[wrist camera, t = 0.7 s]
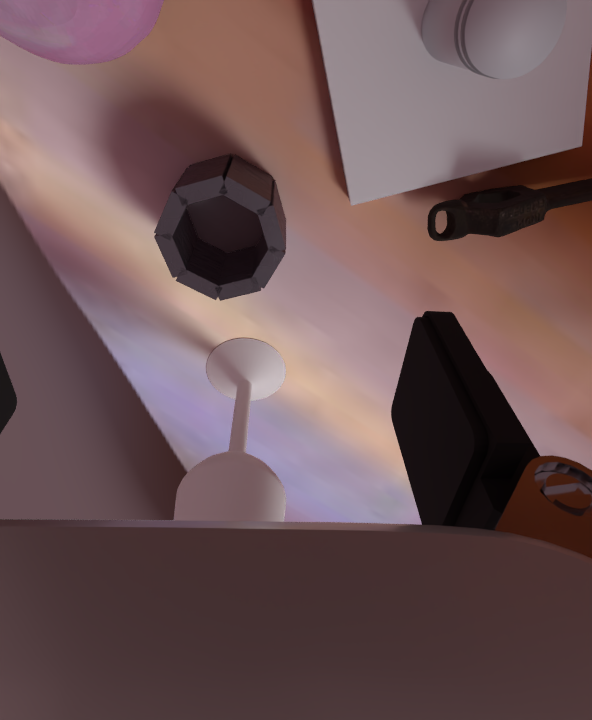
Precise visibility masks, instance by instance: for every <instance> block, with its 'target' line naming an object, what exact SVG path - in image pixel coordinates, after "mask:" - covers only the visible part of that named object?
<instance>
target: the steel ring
mask: <svg viewBox="0 0 592 720" xmlns="http://www.w3.org/2000/svg"><path fill="white" fill-rule="evenodd" d="M272 178H273V177H272V176H270V175H269V174H267V173H265V172H264V171H262V170H260V169H259V168H257V167H255V166H254V165H252V164H250V163H249V162H247V161H245V160H244V159H242V158H240V157H239V156H237V155H234V157H233V159H232V156H231V154H227V155H224V156H220V157H217V158H213V159H210V160H206V161H203V162H199V163H196V164H192V165H190V166H189V168H187V169H186V170H185V172H184V173H183V175H182V176H181V178H180V179H179V181H178V182H177V184H176V186H175V187H174V189H173V190H172V192H171V194H170V197H169V199H168V201H167V203H166V206H165V208H164V210H163V213H162V215H161V217H160V220H159V222H158V224H157V227H156V229H155V231H154V233H156V235H155V236H154V237H155V240H156V242H157V244H158V246H159V248H160V251H161V253H162V255H163V257H164V259H165V262H166V264H167V266H168V268H169V271H170V273H171V275H172V277H177V276H178V277H177V279H176V281H177V282H179V283H182V284H184V285H186V286H188V287H190V288H192V289H194V290H196V291H198V292H200V293H202V294H204V295H206V296H208V297H210V298H213V299H215V300H216V299H217V297H219V299H220V300H224V299H229V298H233V297H237V296H241V295H245V294H250V293H254V292H258V291H261V287H262V288H265V286H266V284H267V283H268V281H269V279H270V278H271V276H272V275H273V273H274V271H275V270H276V268H277V266H278V265H279V263H280V262H281V260H282V258H283V257H284V255H285V250H286V218H285V214H284V211H283V207H282V203H281V200H280V196H279V193H278V189H277V185H276V182H275V180H274V181H272ZM222 195H224V196H226V197H228V198H229V199H231V200H233V201H235V202H237V203H238V204H240V205H242V206H244V207H245V208H247V209H249V210H251V211H253V212H254V213H256V214H258V217H259V220H260V223H261V226H262V230H263V234H262V236H261V238H260V239H259V241H258V243H257V245H256V246H253V247H249V248H245V249H241V250H237V251H233V252H229V253H226V252H224V251H222V250H220V249H218V248H216V247H214V246H212V245H210V244H208V243H206V242H204V241H203V240H201V239H199V238H198V236H197V233H196V231H195V228H194V225H193V223H192V220H191V218H190V215H189V213H188V210H187V207H188V205H189V204H192V203H196V202H199V201H203V200H207V199H210V198H214V197H218V196H222Z"/></svg>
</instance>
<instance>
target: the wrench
mask: <svg viewBox="0 0 592 720" xmlns="http://www.w3.org/2000/svg"><path fill="white" fill-rule="evenodd" d="M587 201H592V179H587V180H582V181H577V182H572V183H567V184H562V185H557V186H552V187H547V188H542V189H537V190H533V189H530V188H527V187H525V186H522V185H518V186H510V187H503V188H495V189H489V190H484V191H479V192H474V193H469V194H465V195H464V196H463V197H462V198H461V199H460V200H450V201H445V202H441V203H439V204H437V205H435V206H434V207H433V208H432V209H431V210H430V212H429V215H428V233H429V236H430V237H431V238H432V239H433V240H436V241H446V240H454V239H459V238H462V237H464V236H466V235H467V234H480V235H489V236H494V237H501V236H505V235H507V234H510V233H512V232H515V231H517V230H519V229H522V228H525V227H528V226H530V225H533V224H536V223H538V222H541V221H542V220H544V216H545V214H546V212H547V211H548V210H550V209H553V208H558V207H563V206H567V205H572V204H577V203H582V202H587ZM442 210H443V211H446V214H447V226H446V229H445V230H444V232H443V233H441V234H439V233H438V232H437V231H436V228H435V218H436V214H437V213H438V211H442Z"/></svg>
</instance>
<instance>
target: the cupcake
mask: <svg viewBox="0 0 592 720" xmlns="http://www.w3.org/2000/svg"><path fill="white" fill-rule="evenodd" d="M163 1H164V0H0V36H2V37H3V38H5V39H7V40H9V41H10V42H12V43H14V44H15V45H17V46H19V47H21V48H23V49H25V50H27V51H29V52H31V53H33V54H35V55H37V56H40V57H42V58H45V59H48V60H51V61H54V62H59V63H63V64H93V63H101V62H107V61H111V60H113V59H116V58H118V57H121V56H123V55H125V54H126V53H128V52H129V51H131V50H132V49H133V48H134V47H135V46H136V45H137V44H138V43H139V42H140V41H141V40H142V39H144V38H145V37H146V36H147V35H148V34H149V33H150V32H151V30H152V28H153V27H154V25H155V23H156V21H157V18H158V16H159V13H160V10H161V7H162V4H163Z"/></svg>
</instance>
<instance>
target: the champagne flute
mask: <svg viewBox="0 0 592 720" xmlns="http://www.w3.org/2000/svg"><path fill="white" fill-rule="evenodd" d="M206 370H207V375H208V379H209V380H210V382H211V384H212V385H213V386H214V387H215V388H216V389H217V390H218V391H219V392H220V393H222V394H223V395H225V396H227V397H230V398H232V399H235V407H234V414H233V422H232V430H231V437H230V445H229V451H228V452H224V453H220V454H216V455H213V456H210V457H208V458H206V459H205V460H203V461H202V462H200V463H199V464H197V465H196V466H195V467H193V468H192V469H191V470H190V471H189V472H188V473H187V474H186V476H185V477H184V478H183V480H182V482H181V483H180V485H179V487H178V490H177V496H176V504H175V513H174V520H180V521H266V522H284V516H285V507H286V495H285V491H284V487H283V485H282V483H281V481H280V480H279V478H278V477H277V475H276V474H275V473H274V472H273V471H272V470H271V468H270V467H269V466H267V465H266V464H265V463H264V462H263V461H261V460H260V459H258V458H256V457H254V456H252V455H249V454H247V453H246V444H247V433H248V422H249V412H250V401H255V400H260V399H264V398H266V397H268V396H270V395H272V394H273V393H275V392H276V391H277V390H278V389H279V388H280V387H281V385H282V383H283V382H284V379H285V375H286V368H285V363H284V361H283V359H282V357H281V355H280V354H279V353H278V352H277V351H276V350H275V349H274V348H273V347H272V346H270V345H268V344H267V343H264V342H262V341H259V340H255V339H251V338H239V339H233V340H229V341H226V342H224V343H222V344H221V345H219V346H218V347H217V348H215V349H214V350H213V352H212V353H211V354H210V356H209V358H208V360H207V365H206Z"/></svg>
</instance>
